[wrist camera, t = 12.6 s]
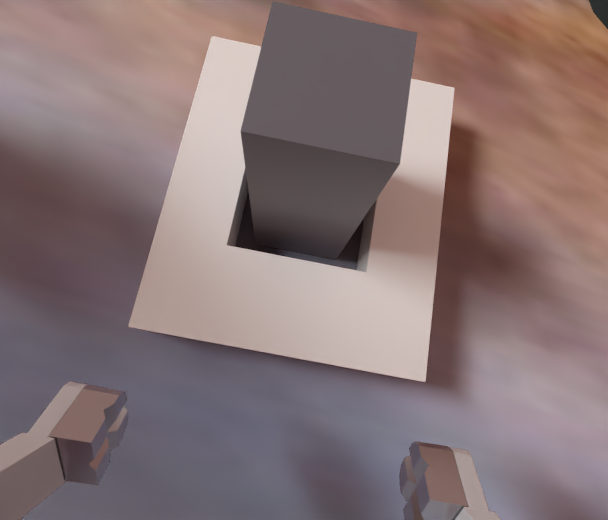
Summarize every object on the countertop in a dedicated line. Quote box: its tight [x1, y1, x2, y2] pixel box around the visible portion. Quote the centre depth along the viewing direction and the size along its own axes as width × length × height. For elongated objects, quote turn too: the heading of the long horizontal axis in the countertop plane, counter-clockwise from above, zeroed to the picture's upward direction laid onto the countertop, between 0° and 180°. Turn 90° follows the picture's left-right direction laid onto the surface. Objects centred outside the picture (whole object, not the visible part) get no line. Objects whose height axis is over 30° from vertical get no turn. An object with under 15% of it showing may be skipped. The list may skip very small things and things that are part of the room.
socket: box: [128, 36, 454, 382], centre depth 19 cm, size 12×14×2 cm
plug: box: [241, 2, 417, 260], centre depth 15 cm, size 4×4×10 cm
